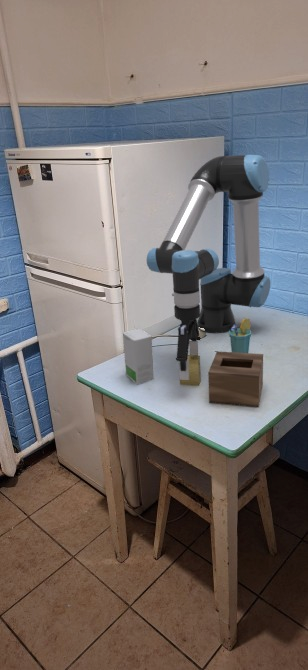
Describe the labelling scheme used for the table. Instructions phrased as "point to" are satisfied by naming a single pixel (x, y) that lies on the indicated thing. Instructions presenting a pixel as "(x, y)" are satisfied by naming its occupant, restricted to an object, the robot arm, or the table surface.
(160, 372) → the table surface
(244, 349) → the cup
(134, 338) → the skincare box
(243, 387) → the coin box
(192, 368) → the block
